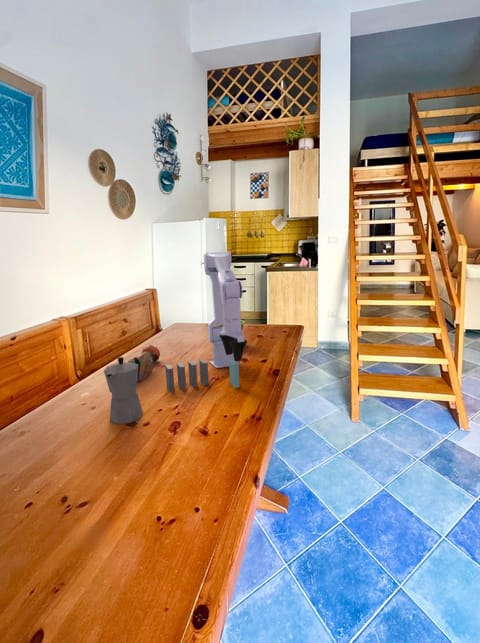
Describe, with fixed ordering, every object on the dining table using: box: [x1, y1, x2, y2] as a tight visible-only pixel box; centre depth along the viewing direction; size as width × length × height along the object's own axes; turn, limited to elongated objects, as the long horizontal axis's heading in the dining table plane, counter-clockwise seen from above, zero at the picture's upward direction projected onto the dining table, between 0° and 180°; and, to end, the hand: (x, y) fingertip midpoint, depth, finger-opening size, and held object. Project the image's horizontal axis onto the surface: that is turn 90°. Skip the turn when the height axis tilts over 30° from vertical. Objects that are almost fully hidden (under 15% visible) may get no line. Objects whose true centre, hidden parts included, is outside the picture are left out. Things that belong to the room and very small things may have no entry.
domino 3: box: [187, 360, 199, 388], centre depth 130 cm, size 2×4×8 cm, turn 23°
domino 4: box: [198, 358, 210, 386], centre depth 132 cm, size 2×4×8 cm, turn 23°
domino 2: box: [176, 362, 187, 391], centre depth 128 cm, size 2×4×8 cm, turn 23°
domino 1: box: [164, 364, 176, 393], centre depth 127 cm, size 2×4×8 cm, turn 23°
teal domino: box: [228, 361, 240, 389], centre depth 129 cm, size 2×4×8 cm, turn 23°
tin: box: [133, 351, 154, 382], centre depth 140 cm, size 15×3×8 cm, turn 168°
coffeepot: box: [103, 356, 144, 425], centre depth 108 cm, size 15×9×18 cm, turn 163°
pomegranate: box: [141, 344, 161, 363], centre depth 155 cm, size 7×7×10 cm
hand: (233, 357), depth 127 cm, fingers open, 7 cm apart
